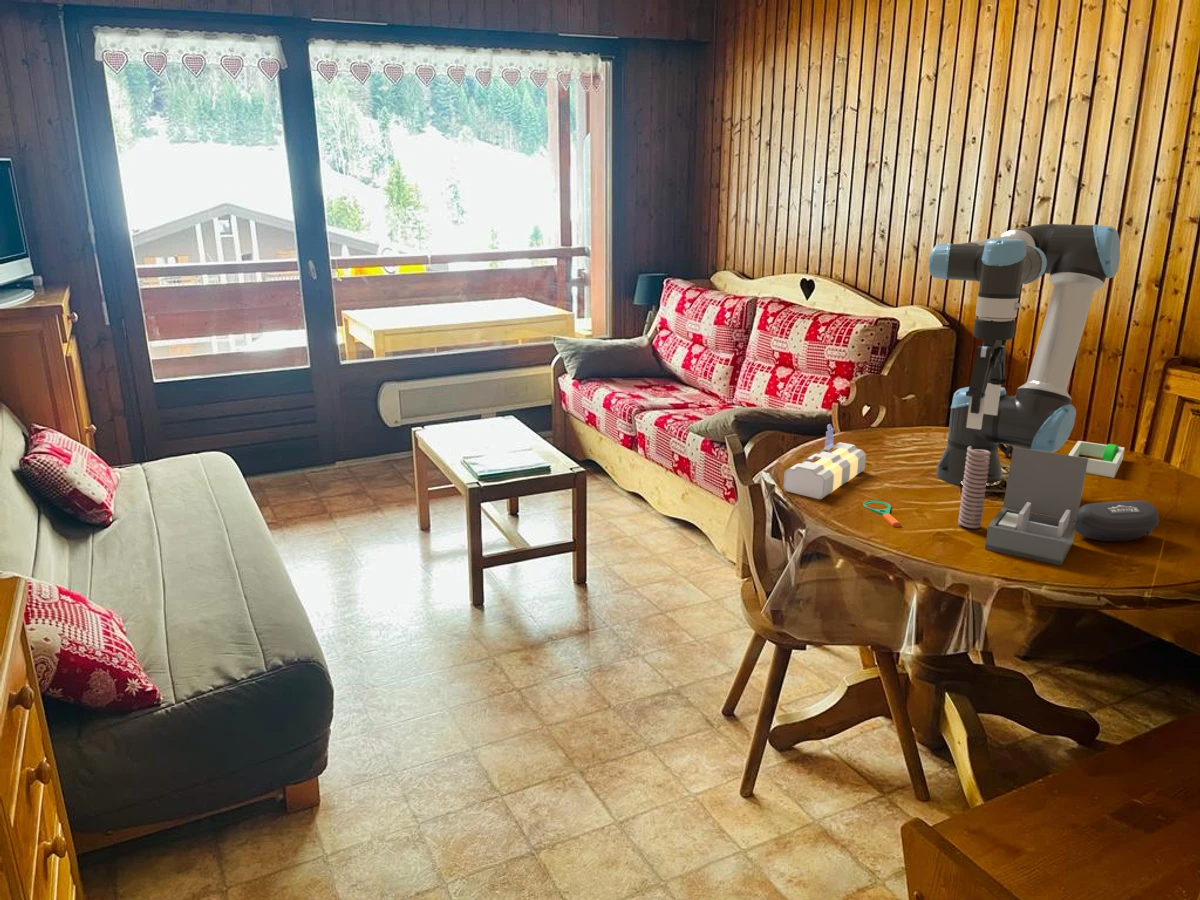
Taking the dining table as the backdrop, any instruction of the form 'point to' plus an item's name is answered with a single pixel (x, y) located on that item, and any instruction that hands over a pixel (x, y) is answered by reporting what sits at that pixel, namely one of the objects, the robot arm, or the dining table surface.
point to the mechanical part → (1110, 452)
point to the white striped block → (825, 469)
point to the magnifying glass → (884, 513)
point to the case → (1039, 506)
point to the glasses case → (1116, 520)
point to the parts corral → (1097, 451)
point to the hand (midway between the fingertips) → (982, 421)
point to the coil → (974, 487)
